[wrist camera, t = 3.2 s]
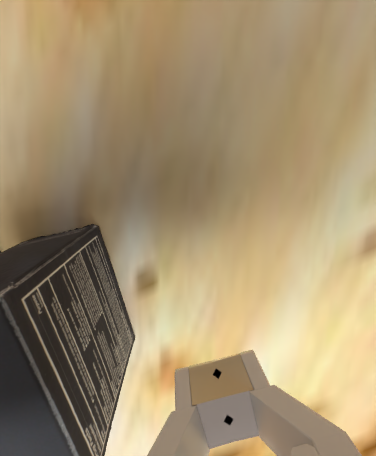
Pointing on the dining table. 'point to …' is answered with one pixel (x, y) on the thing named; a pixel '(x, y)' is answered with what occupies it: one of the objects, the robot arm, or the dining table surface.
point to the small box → (60, 345)
